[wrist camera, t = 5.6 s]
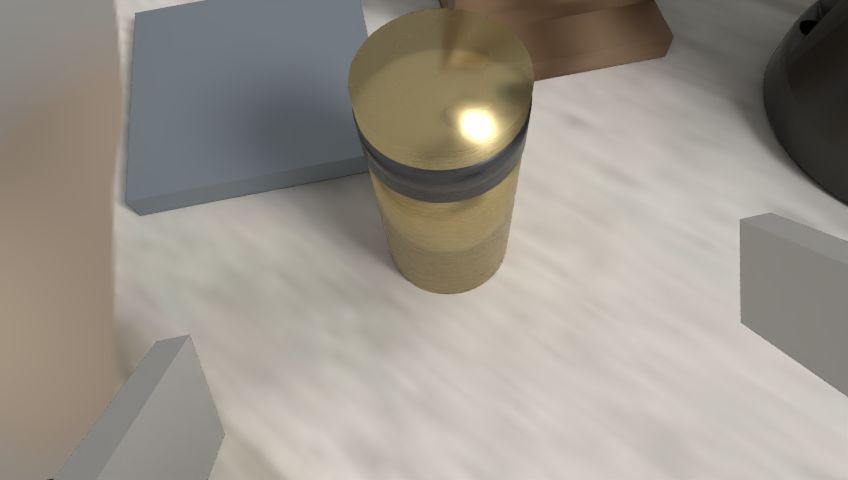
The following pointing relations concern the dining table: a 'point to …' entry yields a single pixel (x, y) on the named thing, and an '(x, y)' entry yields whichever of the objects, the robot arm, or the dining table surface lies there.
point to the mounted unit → (578, 31)
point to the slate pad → (241, 99)
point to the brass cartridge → (443, 140)
